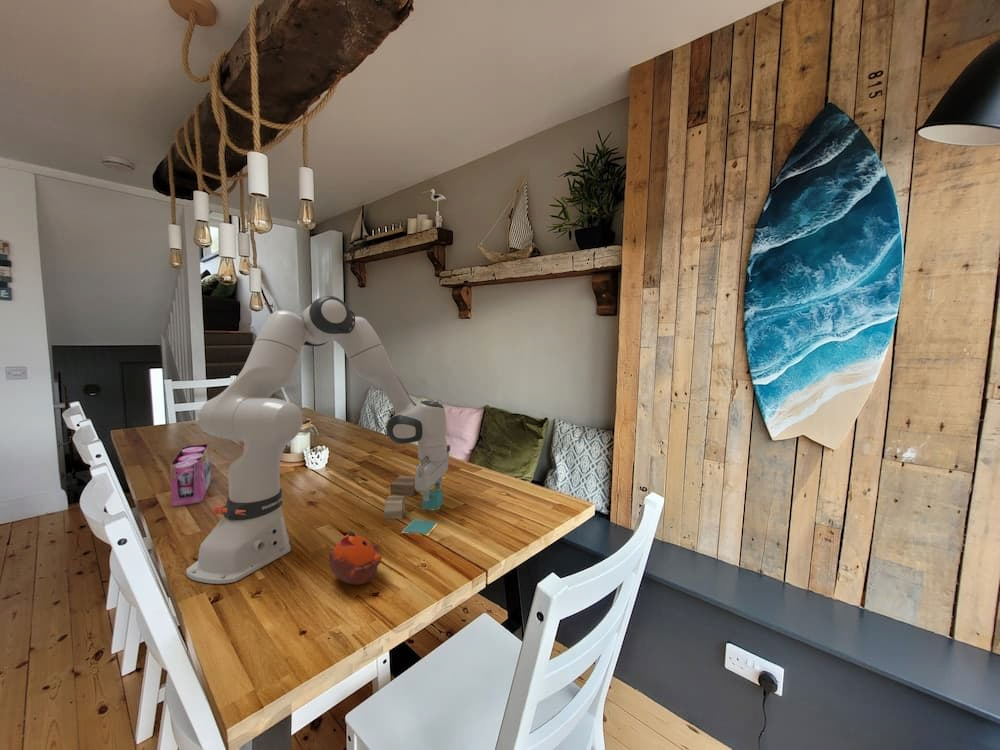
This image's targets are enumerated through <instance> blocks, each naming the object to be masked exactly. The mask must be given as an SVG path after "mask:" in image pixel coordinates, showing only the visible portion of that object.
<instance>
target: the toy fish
mask: <svg viewBox="0 0 1000 750" xmlns="http://www.w3.org/2000/svg"><path fill="white" fill-rule="evenodd" d="M328 558H329V560H328V561H329V566H330V569H331V570H330V571H332V573H333V574H334V575H335V577H337V579H339V580H340V581H342V582H344V583H346V584H351V585H355V586H356V585H357V586H358V585H359V586H361V585H365V584H366V583H369V582H371V581H372V580H373V579H375V577H376V576H377V573H378V566H379V565H380V564H381V560H382V559H383V555H382V553H381V550H380V548H379V546H378V545H377V544H374V543H372V542H370V541H369V540H368V539H367V538H365V537H363V536H361V535H359V534H355V533H354V532H349V533H347V534H346V535H344V536H343V537H342V538H341V539H340V540H338V542H337V543H336V545H335V547H334V549H331V550H330V552H329V556H328Z"/></svg>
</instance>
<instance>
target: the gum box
mask: <svg viewBox="0 0 1000 750" xmlns="http://www.w3.org/2000/svg"><path fill="white" fill-rule="evenodd" d="M179 450H180V451H179V452H178V453H177V455H175V457H174V459H173V460H171V463H170V467H169V468H170V491H171V495H170V496H171V507H178V506H185V505H186V506H187V505H192V504H199V503H202V502H203V500H204V498H205V495H206V493H207V490H208V488H209V486H210V484H211V481H212V473H211V461H210V459H211V457H210V445H209V443H206V444H194V445H184V446H182V447H181V448H180V449H179Z"/></svg>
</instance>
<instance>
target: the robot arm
mask: <svg viewBox="0 0 1000 750" xmlns="http://www.w3.org/2000/svg"><path fill="white" fill-rule="evenodd" d="M332 340H333V341H334V342H336V343H337V344H338V345H340V347H341V348H342V349H343V350H344V353H345V356H346V357H347V359H348V362H349V363H350V365H351V367H352V368H353V370H354V371H355V373H356V374H357V375H358V376H359V377H360V378H361V379H363V380H365V381H368V382H371V383H373V384H375V385H376V386H378V387H380V388H381V389H382V391H383V393H384V394H385V396H386V397H387V400H388V401H389V402H390V404H391V406H392V407H393V410H394V414H393V416H392V417H391V418H390V419H388V421H387V423H386V427H385V429H386V433H387V436H388V438H389V439H390V441H392V442H393V443H396V444H399V445H401V444H411V443H415V442H417V455H418V456H417V459H418V460H419V463H418V465H417V466H416V469H415V474H414V475H415V476H414V477H415V489H416V491H417V492H421V495H422V494H423V500H424V501H429V500H430V498H431V497H430V496H431V494H429V490H430V489H431V487H433V486H434V489H438V490H441V488H442V483H443V482H442V481H443V475H444V474H445V473H446V472H447V471H448V468H449V463H450V461H449V460H450V451H451V444H448V443H447V440H446V432H447V416H446V415H447V414H446V410H445V407H444V406H443V404H441V403H440V402H437V401H435V400H434V401H433V400H423V401H420V402H418V404H416V403H415V402H414V400H412V398H411V396H410V395H409V393H408V392H407V389H406V388H405V386H404V385H403V383H402V381H401V379H400V378H399V376H398V374H397V372H396V370H395V369H394V366H393V364H392V362H391V360H390V357H389V354H388V353H387V351H386V348H385V347H384V345H383V343H382V340H381V339H380V337H379V335H378V334H377V332H376V331H375V329H374V328H373V326H372V325H371V324H370V323H369V321H368V320H367V319H366V318H364V317H362V316H355V313H354V311H352V310H351V309H350V308H349V305H347V304H346V303H345V302H344V301H343V300H342V299H340V298H339V297H336V296H332V295H325V296H321V297H319V298H317V299H315V300H314V301H313V302H312V303H311V304H310V305H309V306H306V308H305V309H303V311H302V312H301V313H295V312H292V311H289V310H285V309H284V310H283V309H282V310H281V309H280V310H276V311H273V312H272V313H270V315H269V316H268V317H267V318H266V320H265V321H264V323H263V325H262V326H261V329H260V330H259V332H258V334H257V336H256V338H255V340H254V343H253V345H252V348H251V350H250V352H249V355H248V357H247V359H246V361H245V364H244V366H243V368H242V369H241V371H240V372H239V373H238V375H237V376H236V377H235V379H234V380H233V381H232V382H231V383H230V384H228V385H227V386H226V388H225V389H224V390H223V391H222V392H221V393H219V394H218V395H216V396H215V397H212V398H211V399H209V400H207V401H205V403H204V404H203V405H202V407H200V409H199V413H198V425H199V427H200V429H201V430H202V431H203V432H204V433H206V434H208V435H210V436H213V437H215V438H218V439H222V440H229V441H239V442H240V441H241V442H243V451H242V454H241V456H239V457H238V458H236V459H235V460H234V461H233V462H232V463H230V464H229V467H228V469H227V481H228V482H227V485H228V498H227V500H226V503H225V505H220V504H217V505H215V506H214V507H213V510H212V511H213V513H214V514H215V515H221V516H222V515H223V517H222V518H221V519H220V521H219V522H217V524H216V525H215V527H214V528H213V529H212V530H211V531H210V533H208V535H207V536H206V537H205V539H204V540H203V541H202V543H201V544H200V546H199V549H198V559H197V560H196V561H195V562H194V563H193V564H191V565H189V567H187V568H186V570H185V573H186V577H187V578H189V579H190V580H192V581H195V582H199V583H204V584H205V583H206V584H212V585H213V584H216V585H217V584H218V585H221V584H229V583H235V582H237V581H240V580H242V579H243V578H246V577H247V576H249V575H250V574H252V573H254V572H256V571H258V570H260V569H261V568H263V567H265V566H267V565H269V564H270V563H272V562H274V561H276V560H277V559H279V558H281V557H283V556H284V555H286V554H288V553H290V552H291V551H292V547H291V543H290V537H289V535H288V532H287V528H286V521H285V517H284V514H283V511H282V505H283V503H284V502H283V496H284V495H283V491H282V489H281V488H280V484H281V482H280V481H281V480H280V479H281V478H280V475H281V474H280V466H281V465H280V464H281V459H282V455H283V452H284V450H285V448H286V447H287V445H288V444H289V443H290V442H291V441H292V440H294V439H295V438H296V437H297V436H298V435H299V434H300V432H301V430H302V427H303V422H304V419H303V413H302V411H301V409H300V407H299V406H298V405H297V404H295V403H293V402H289V401H288V400H284V399H280V398H272V396H273V394H275V393H276V392H277V391H278V390H281V389H283V388H284V387H286V386H288V384H289V383H290V382H291V380H292V378H293V376H294V373H295V371H296V367H297V364H298V361H299V358H300V355H301V352H302V349H303V346H309V347H320V346H323V345H326V344H327V343H329V342H330V341H332Z"/></svg>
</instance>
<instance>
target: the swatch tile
mask: <svg viewBox="0 0 1000 750" xmlns="http://www.w3.org/2000/svg"><path fill="white" fill-rule="evenodd" d="M413 519H414V520H412V521H410V523H408V525H407V526H406V527H404V529H403V530H402V531H401V534H402V533H409V532H411V533H422V534H423V533H424V534H427V533H428V532H429V531H430V530H431V529H432V528H433V526H434V525H435V524H436V523H437V522H438V521H432V520H431V521H430V520H422V519H415V518H413Z"/></svg>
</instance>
